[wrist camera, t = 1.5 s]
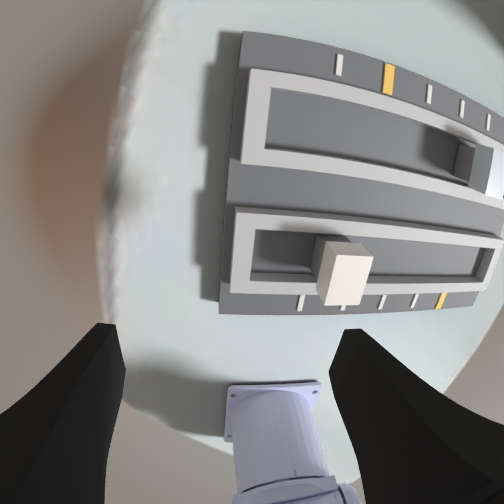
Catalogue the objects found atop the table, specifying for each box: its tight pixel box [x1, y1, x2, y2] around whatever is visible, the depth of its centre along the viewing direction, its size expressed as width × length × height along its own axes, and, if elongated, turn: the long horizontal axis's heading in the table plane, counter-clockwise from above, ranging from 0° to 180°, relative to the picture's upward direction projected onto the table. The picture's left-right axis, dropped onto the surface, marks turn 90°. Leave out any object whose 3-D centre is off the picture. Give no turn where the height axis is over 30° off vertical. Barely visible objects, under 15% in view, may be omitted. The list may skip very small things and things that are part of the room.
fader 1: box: [310, 234, 373, 306], centre depth 16 cm, size 3×2×3 cm
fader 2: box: [453, 143, 504, 200], centre depth 14 cm, size 3×2×3 cm
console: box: [219, 31, 504, 315], centre depth 17 cm, size 16×22×2 cm
